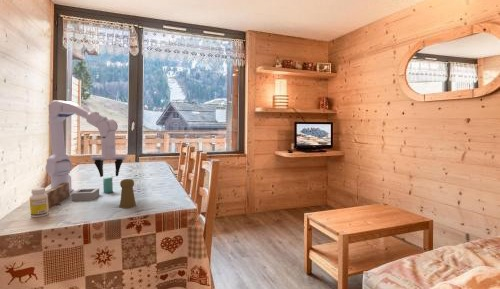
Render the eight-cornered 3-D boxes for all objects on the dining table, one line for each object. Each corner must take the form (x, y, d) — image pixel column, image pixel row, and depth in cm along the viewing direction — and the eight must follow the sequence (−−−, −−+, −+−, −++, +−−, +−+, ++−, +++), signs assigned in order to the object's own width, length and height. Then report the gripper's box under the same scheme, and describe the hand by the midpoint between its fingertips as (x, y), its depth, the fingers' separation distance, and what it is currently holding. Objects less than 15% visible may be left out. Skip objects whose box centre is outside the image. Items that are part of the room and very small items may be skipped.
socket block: (79, 196, 135) (78, 189, 135) (99, 195, 137) (99, 188, 136) (72, 201, 127) (71, 193, 126) (93, 200, 128) (93, 192, 128)
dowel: (104, 191, 143) (104, 177, 143) (113, 191, 144) (113, 177, 144) (102, 193, 139) (102, 179, 139) (111, 193, 140) (111, 178, 140)
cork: (130, 208, 115) (129, 181, 114) (116, 207, 116) (115, 180, 115) (138, 204, 121) (138, 178, 120) (125, 203, 122) (125, 177, 121)
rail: (63, 195, 135) (62, 182, 135) (69, 195, 136) (68, 182, 135) (39, 209, 114) (39, 194, 113) (47, 209, 114) (46, 193, 114)
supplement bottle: (36, 213, 109) (35, 187, 108) (52, 212, 109) (50, 187, 109) (27, 217, 104) (25, 190, 103) (43, 217, 104) (41, 190, 103)
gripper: (87, 147, 127) (89, 178, 128) (123, 146, 130) (124, 177, 131) (93, 146, 133) (94, 175, 134) (126, 145, 136) (127, 174, 137)
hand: (109, 176), depth 133 cm, fingers open, 6 cm apart
